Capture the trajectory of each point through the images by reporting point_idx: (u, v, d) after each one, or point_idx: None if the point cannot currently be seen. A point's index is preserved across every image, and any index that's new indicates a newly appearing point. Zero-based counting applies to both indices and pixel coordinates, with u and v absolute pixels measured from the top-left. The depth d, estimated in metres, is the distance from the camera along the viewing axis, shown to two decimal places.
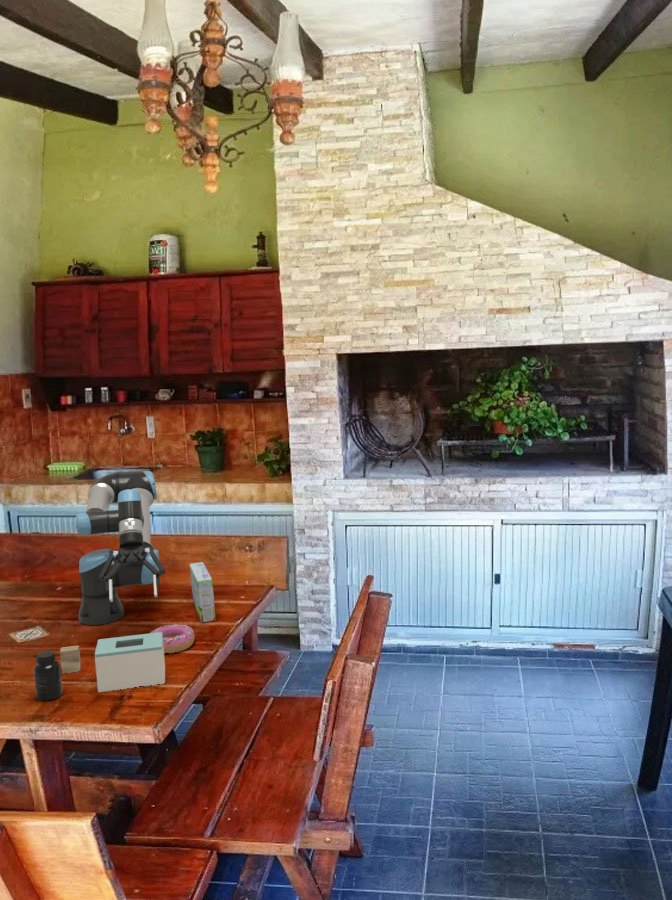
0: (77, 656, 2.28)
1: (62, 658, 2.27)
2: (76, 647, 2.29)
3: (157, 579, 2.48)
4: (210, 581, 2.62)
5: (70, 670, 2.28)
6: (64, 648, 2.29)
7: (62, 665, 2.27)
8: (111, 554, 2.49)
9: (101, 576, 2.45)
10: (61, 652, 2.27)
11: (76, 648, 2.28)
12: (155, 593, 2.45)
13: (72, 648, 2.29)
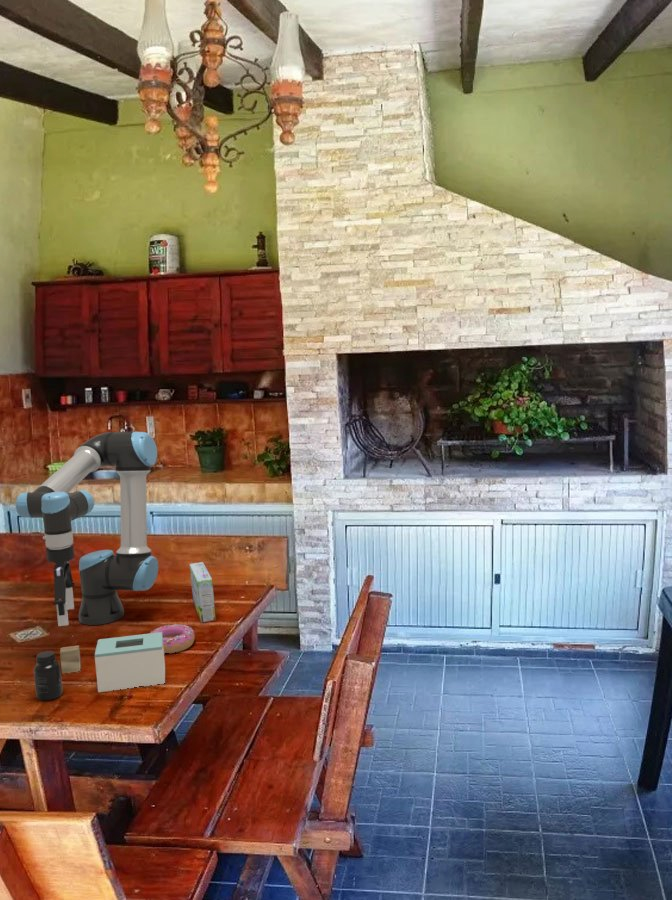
0: (77, 656, 2.28)
1: (62, 658, 2.27)
2: (76, 647, 2.29)
3: None
4: (210, 581, 2.62)
5: (70, 670, 2.28)
6: (64, 648, 2.29)
7: (62, 665, 2.27)
8: None
9: None
10: (61, 652, 2.27)
11: (76, 648, 2.28)
12: (58, 624, 2.20)
13: (72, 648, 2.28)
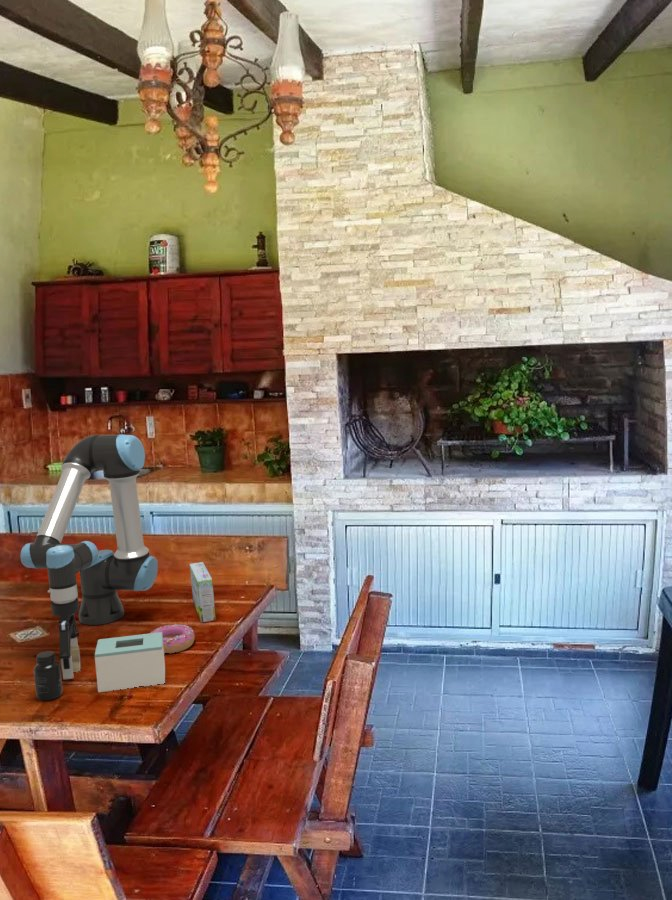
0: (77, 656, 2.28)
1: None
2: (76, 647, 2.29)
3: (63, 662, 2.21)
4: (210, 581, 2.62)
5: None
6: None
7: None
8: None
9: None
10: None
11: (76, 648, 2.28)
12: None
13: (72, 648, 2.29)
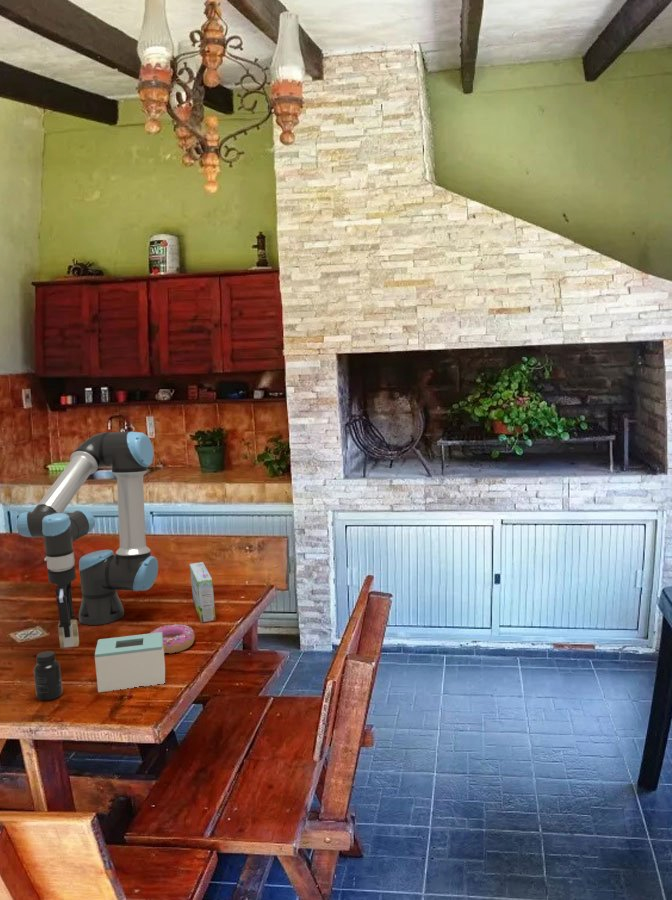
0: (75, 630, 2.27)
1: (60, 632, 2.26)
2: (74, 621, 2.28)
3: None
4: (210, 581, 2.62)
5: None
6: None
7: (60, 639, 2.27)
8: None
9: None
10: None
11: (74, 622, 2.27)
12: (64, 645, 2.27)
13: None
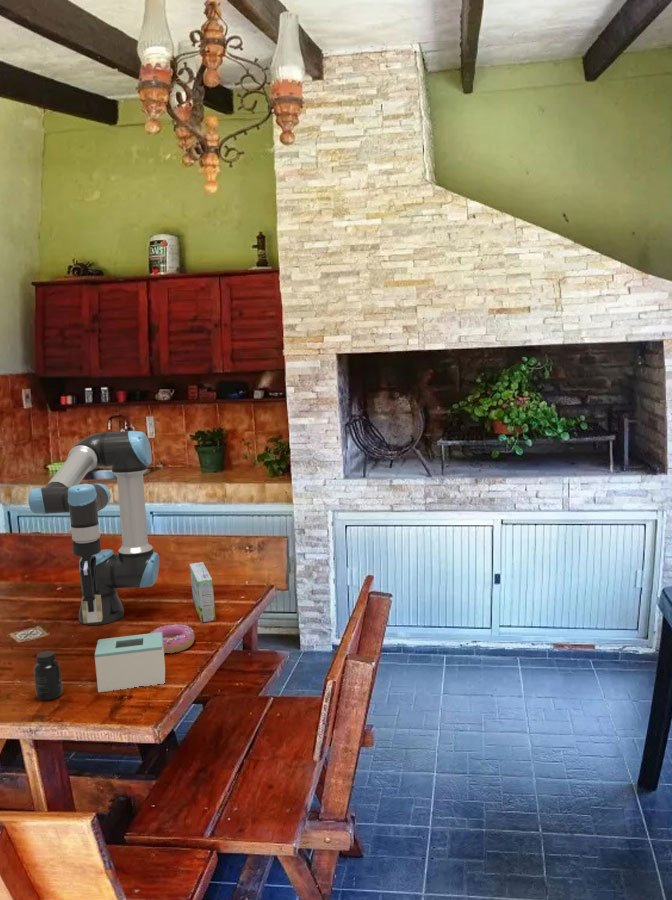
0: (99, 605, 2.21)
1: (83, 606, 2.20)
2: (98, 596, 2.22)
3: (88, 605, 2.19)
4: (210, 581, 2.62)
5: None
6: None
7: (83, 614, 2.21)
8: None
9: None
10: (82, 600, 2.20)
11: (98, 597, 2.22)
12: None
13: None
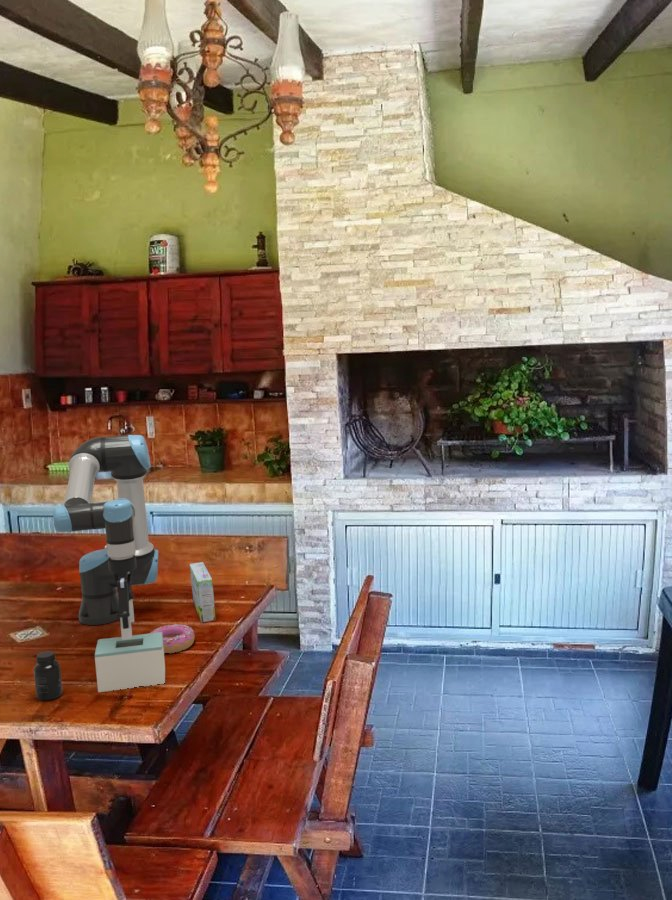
0: None
1: None
2: None
3: (122, 622, 2.12)
4: (210, 581, 2.62)
5: None
6: None
7: None
8: None
9: None
10: None
11: None
12: (122, 637, 2.13)
13: None
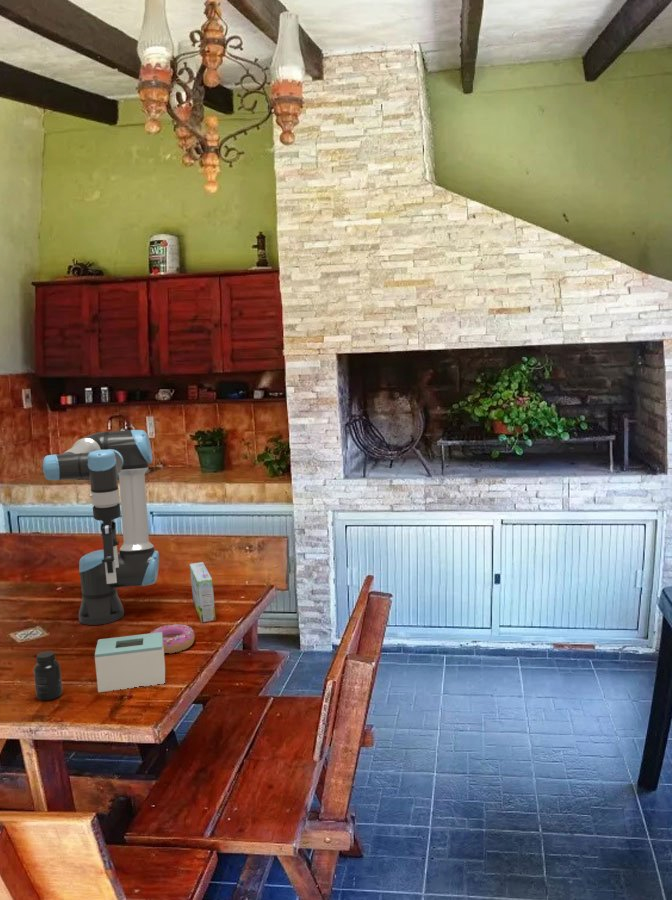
0: None
1: None
2: None
3: (107, 567, 2.18)
4: (210, 581, 2.62)
5: None
6: None
7: None
8: None
9: None
10: None
11: None
12: (106, 582, 2.20)
13: None
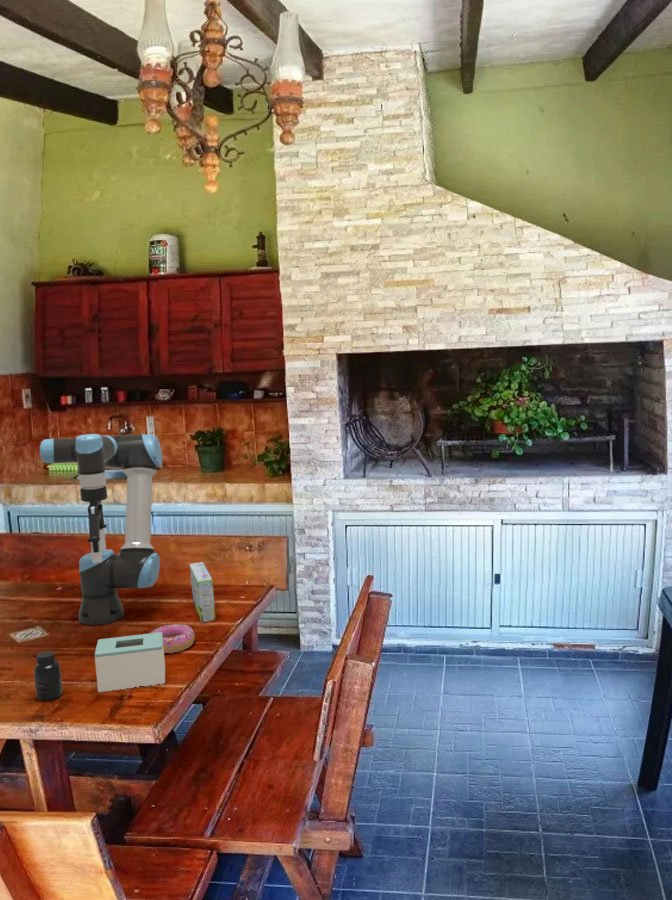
0: None
1: None
2: None
3: (93, 546, 2.26)
4: (210, 581, 2.62)
5: None
6: None
7: None
8: None
9: None
10: None
11: None
12: (92, 561, 2.27)
13: None
